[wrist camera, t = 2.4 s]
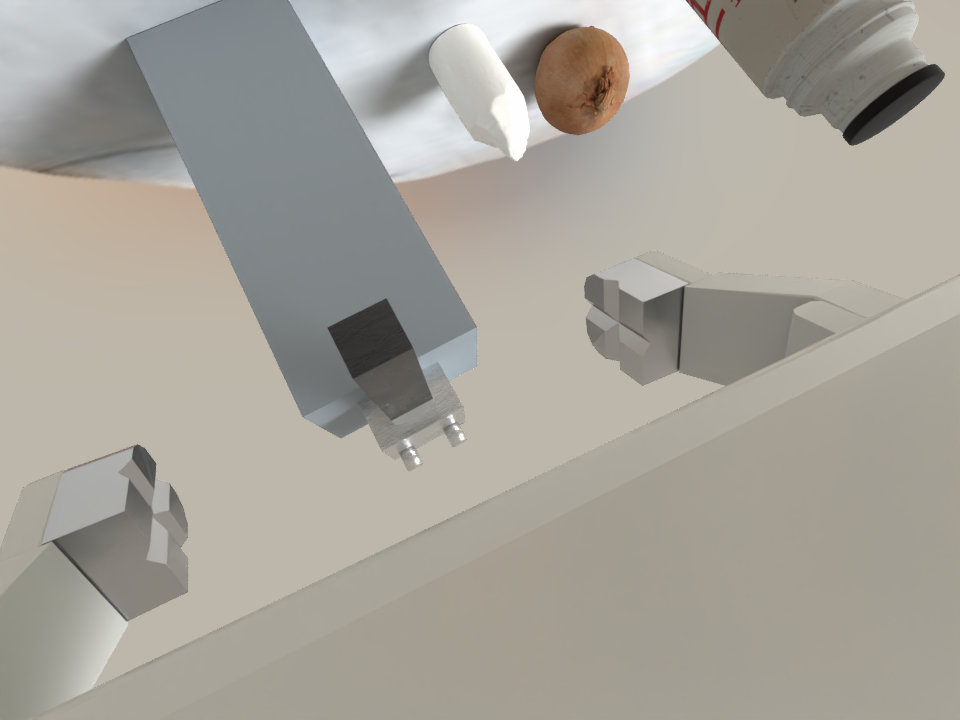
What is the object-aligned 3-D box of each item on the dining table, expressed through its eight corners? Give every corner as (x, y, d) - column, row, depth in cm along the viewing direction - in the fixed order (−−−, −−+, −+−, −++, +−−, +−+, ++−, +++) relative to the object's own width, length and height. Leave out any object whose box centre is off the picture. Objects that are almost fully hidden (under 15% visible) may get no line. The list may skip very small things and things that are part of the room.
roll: (566, 133, 46) (524, 181, 50) (496, 32, 49) (462, 85, 52) (522, 124, 42) (480, 177, 45) (448, 14, 44) (414, 73, 48)
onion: (529, 9, 53) (573, 44, 46) (614, 16, 56) (666, 50, 49) (511, 110, 59) (547, 153, 53) (588, 112, 62) (631, 152, 56)
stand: (126, 38, 34) (302, 417, 28) (275, -22, 35) (476, 327, 29) (191, 126, 42) (341, 438, 35) (311, 74, 43) (477, 366, 37)
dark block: (294, 343, 20) (343, 446, 19) (417, 282, 20) (471, 378, 19) (374, 418, 35) (403, 477, 34) (443, 382, 36) (474, 438, 35)
